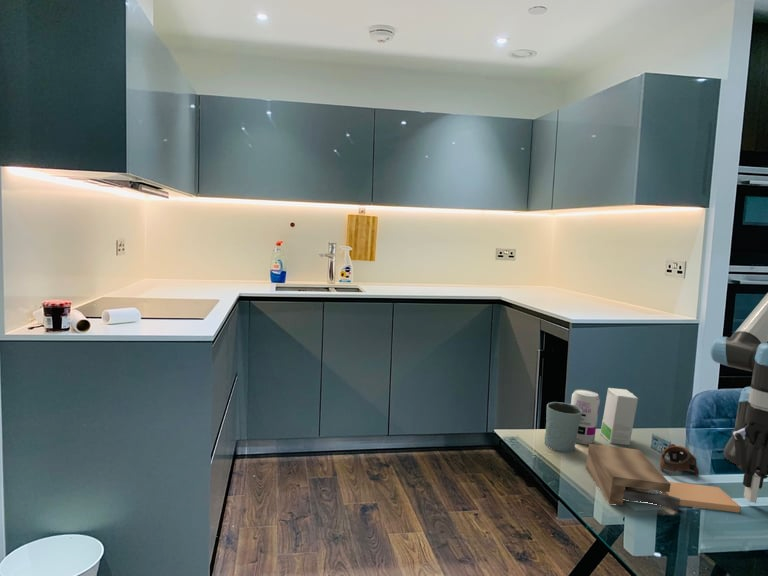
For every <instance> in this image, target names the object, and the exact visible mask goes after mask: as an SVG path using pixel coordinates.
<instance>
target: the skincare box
mask: <svg viewBox="0 0 768 576" xmlns="http://www.w3.org/2000/svg"><path fill="white" fill-rule="evenodd" d="M606 392H607V393H606V398H605V399H606V400H605V403H604V404H605V405H604V412H603V417H602V421H601V427H600V435H601V436H603V438H605V440H606V441H607V442H608V443H609V444H612V445H613V444H615V445H624V446H625V445H626V446H630V443H631V439H632V433H633V430H634V429H633V427H634V423H635V417H636V413H637V406H638V401H639V398H638V397H637V396H636V395H634V393H633V392H630V391H629V390H628V389H626V388H625V389H624V388H613V387H608V388H607V391H606Z"/></svg>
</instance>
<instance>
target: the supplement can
mask: <svg viewBox="0 0 768 576" xmlns="http://www.w3.org/2000/svg"><path fill="white" fill-rule="evenodd" d="M600 402H601V399H600V397H599V394H598V393H597V392H594V391H591V390H588V389H575V390H574V391H573V393H572V394H571V400H570V404H571V405H574V406H577V407H579V408H580V409H581V410H582V416H581V420H580V424H579V428H578V433H577V437H576V443H577V444H581V445H589V444H593V442H595V438H596V437H595V436H596V430H597V425H598V424H597V423H598V418H599V417H598V415H599V409H600ZM576 443H575V444H576Z"/></svg>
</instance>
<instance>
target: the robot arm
mask: <svg viewBox="0 0 768 576" xmlns="http://www.w3.org/2000/svg"><path fill="white" fill-rule="evenodd" d="M710 355H711V359H712V360H713V361H714V362H715V363H717V364H719V365H723V366H726V367H729V368H735V369H738V370H744V371H747V372H748V371H749V372H751V373H752V378H751V383H750V386H746V387H744V388H742V389H741V391H740V396H739V399H738V400H737V401H738V405H737V410H736V411H737V412H736V419H735V422H734V423H735V425H734V429H733V430H731V432H730V433H731V437H730V438H729V440H728V441H727V443H726V444H725V447H724V449H723V453H722V456H723V455H724V456H723V457H725V458H726V459H727V460H726V461H728V460H729V461H728V462H730V463H731V462H732V463H731V464H733V463H734V464H733V465H735V464H736V468H738V469H739V470H740V471H741V472H742V473H744V475H743V479H742V484H743V486H744V491H743V498H745V499H746V500H747V501H748V502H750V503H754V504H755V503H757V499H758V493H759V489H760V490H761V489H762V488H763V485H764V479H768V292H767V293H765V295H764V296H763V298H762V299H761V300H760V301H759V303H758V304H757V305H756V306H755V308H754V309H753V310H752V311H751V312H750V313H749V314H748V316H747V317H746V318H745V320H743V322H742V323H741V324H740V326H739V327H738V328H737V329H736V330H735V331H734V332H733V334H732V335H731V336H730V337H728V336H718V337H716V338H714V340H713V342H712V343H711V347H710ZM725 458H724V459H725Z"/></svg>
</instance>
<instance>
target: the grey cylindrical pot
mask: <svg viewBox="0 0 768 576" xmlns="http://www.w3.org/2000/svg"><path fill="white" fill-rule="evenodd" d="M545 413H546V415H545V416H546V417H545V419H546V422H545V432H544V445H545V446H546V447H547V446H548V447H547V448H549V447H550V448H549V449H551V448H552V449H551V450H553V449H555V450H554V451H556V450H557V452H561V453H570V452H573V451H574V450H575V447H576V437H577V433H578V428H579V424H580V420H581V416H582V410H581V409H580V408H579V407H577V406H574V405H571V403H566V402H558V401H551V402H548V403H547V404H546V412H545Z"/></svg>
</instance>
